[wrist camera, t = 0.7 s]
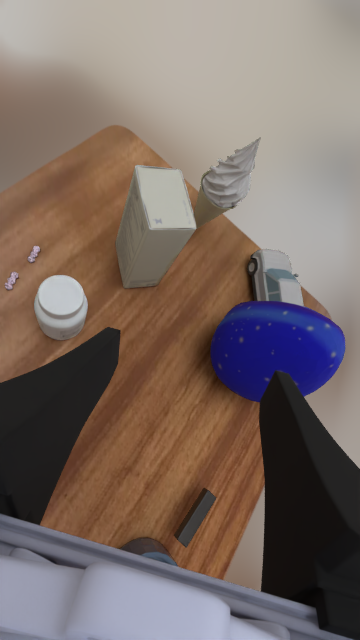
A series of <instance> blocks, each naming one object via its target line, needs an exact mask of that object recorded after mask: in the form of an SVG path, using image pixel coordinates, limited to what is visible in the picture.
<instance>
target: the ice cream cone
mask: <svg viewBox="0 0 360 640" xmlns="http://www.w3.org/2000/svg"><path fill="white" fill-rule="evenodd" d="M259 142H260V138H259V139H257V140H256V141H254V142H252V143H251V144H249V145H247V146H246V147H244V148H242V149H239V150H235V154H234V155H231V156H230V157H229V156H228V157H227V160H226V161H222V160H221V159H218V160H217V161H218V162H219V165H218V166H217V167H213V166H211V167H210V169H211V170H210V171H207V172H206V173H204V174H203V176H202V178H201V182H200V183H201V184H200V185H201V186H200V190H199V194H198V198H197V202H196V207H195V211H194V218H195V222H196V227H197V228H199V227H200V226H202V225H204V224H205V223H207V222H209V221H211V220H212V219H214V218H216V217H217V216H219V215H221V214H222V213H224V212H226V211H227V210H229V209H233V208H235V207H236V206H237V205H238V204H239V202H240V201H242V200H243V198H245V197H246V195H247V193H248V191H249V190H250V179H251V176H250V173H251V172H252V170H253V169H254V166H255V165H254V163H255V162H254V161H255V156H256V152H257V148H258V145H259ZM197 228H196V229H197Z"/></svg>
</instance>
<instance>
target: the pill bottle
mask: <svg viewBox="0 0 360 640" xmlns="http://www.w3.org/2000/svg"><path fill="white" fill-rule="evenodd" d="M87 308H88V303H87V299H86V296H85V294H84V292H83V289H82V287H81V285H80V284H79V283H78V282H77V281H76V280H75V279H73V278H71V277H69V276H65V275H55V276H51V277H49V278H47V279H46V280H44V281H43V282H42V284H41V285H40V287H39V289H38V293H37V295H36V297H35V301H34V309H35V314H36V317H37V320H38V323H39V325H40V328H41V330H42V331H43V332H44V333H45V334H46V335H47V336H49V337H50V338H53V339H56V340H67V339H70V338H73V337H75V336H76V335H77V334H79V332H80V331H81V330H82V328H83V326H84V323H85V318H86V314H87Z"/></svg>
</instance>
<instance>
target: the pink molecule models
mask: <svg viewBox="0 0 360 640" xmlns="http://www.w3.org/2000/svg"><path fill="white" fill-rule="evenodd" d="M39 249H40V247H38V246H37V245H36V246H34V247H33V252H31V256H28V261H30V262H31V263H32V262H35V258H34V257H37V256H38V255H37V254H38V253H37V252H40V250H39ZM18 275H19V274H18V273H16V272H11V276H10V277H11V278H8V283H5V288H7V289H8V290H10V289H13V287H12V286H13V285H12V284H13V283H16V282H15V281H16V278H18ZM10 284H11V285H10Z"/></svg>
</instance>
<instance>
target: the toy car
mask: <svg viewBox="0 0 360 640" xmlns="http://www.w3.org/2000/svg"><path fill="white" fill-rule="evenodd" d="M250 259H253V260H251V261H250V262H249V264H248V268H247V270H248V273H249V274H250V275H251V276H252V284H253V292H254V300H255V301H281V302H286V303H292V304H297V305H300V306H304V305H303V299H302V293H301V287H300V283H299V282H298V281H297V280H296V278H295V277H298V274H294V275H292V267H291V263H290V259H289V256H288V255H286V254H285V253H283V252H281V251H277V250H271V249H262V250H258V251H256V252H255V253H253V254H252V255H251V257H250ZM294 276H295V277H294Z"/></svg>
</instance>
